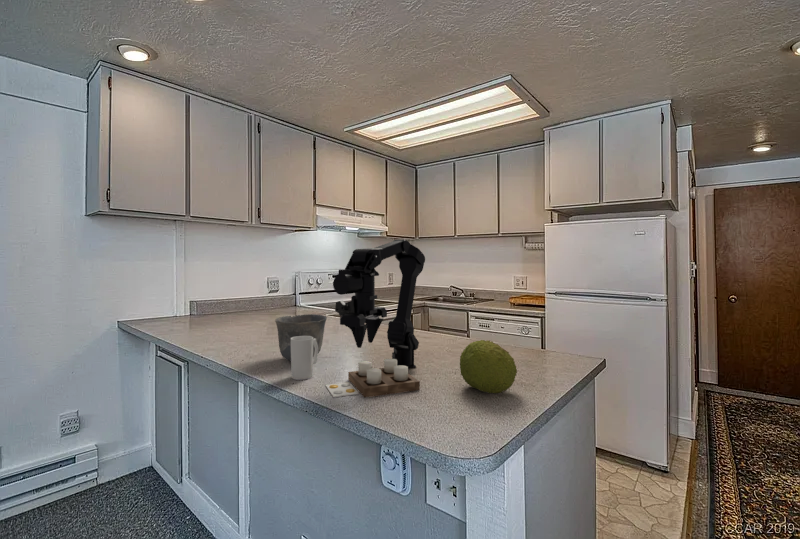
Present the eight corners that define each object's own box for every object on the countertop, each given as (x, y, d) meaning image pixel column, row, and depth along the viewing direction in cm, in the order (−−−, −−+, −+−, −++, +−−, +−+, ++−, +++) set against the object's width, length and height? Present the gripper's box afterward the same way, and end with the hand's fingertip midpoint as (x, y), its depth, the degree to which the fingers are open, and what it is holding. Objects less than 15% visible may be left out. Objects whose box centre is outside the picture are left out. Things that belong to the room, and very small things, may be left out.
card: (349, 383, 115) (349, 381, 115) (359, 394, 105) (359, 392, 105) (325, 386, 112) (325, 384, 112) (333, 397, 103) (333, 395, 103)
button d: (378, 378, 111) (378, 367, 111) (383, 383, 107) (383, 371, 107) (364, 380, 109) (364, 369, 109) (369, 384, 105) (369, 373, 105)
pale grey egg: (394, 368, 121) (394, 358, 121) (399, 371, 117) (399, 361, 117) (382, 369, 120) (382, 359, 119) (386, 373, 116) (386, 362, 116)
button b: (404, 375, 114) (404, 364, 114) (410, 379, 110) (410, 368, 110) (391, 377, 112) (391, 366, 112) (396, 381, 108) (397, 369, 108)
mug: (301, 381, 116) (301, 341, 115) (286, 377, 119) (285, 338, 119) (325, 373, 124) (325, 335, 124) (310, 369, 128) (310, 333, 127)
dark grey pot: (289, 352, 151) (288, 313, 150) (333, 354, 148) (333, 314, 148) (267, 365, 133) (266, 321, 132) (317, 367, 131) (317, 322, 130)
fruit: (526, 388, 110) (529, 348, 103) (492, 417, 103) (492, 376, 96) (482, 359, 122) (482, 320, 114) (449, 383, 115) (446, 344, 107)
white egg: (369, 371, 118) (369, 360, 118) (373, 374, 114) (373, 364, 114) (356, 372, 116) (356, 361, 116) (360, 376, 113) (360, 365, 113)
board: (397, 373, 124) (397, 366, 124) (419, 389, 109) (419, 381, 109) (348, 379, 118) (348, 371, 118) (364, 397, 103) (364, 388, 103)
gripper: (356, 288, 126) (356, 336, 127) (323, 293, 109) (323, 349, 110) (387, 289, 122) (387, 339, 123) (358, 295, 105) (358, 353, 105)
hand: (364, 345), depth 115 cm, fingers open, 7 cm apart
